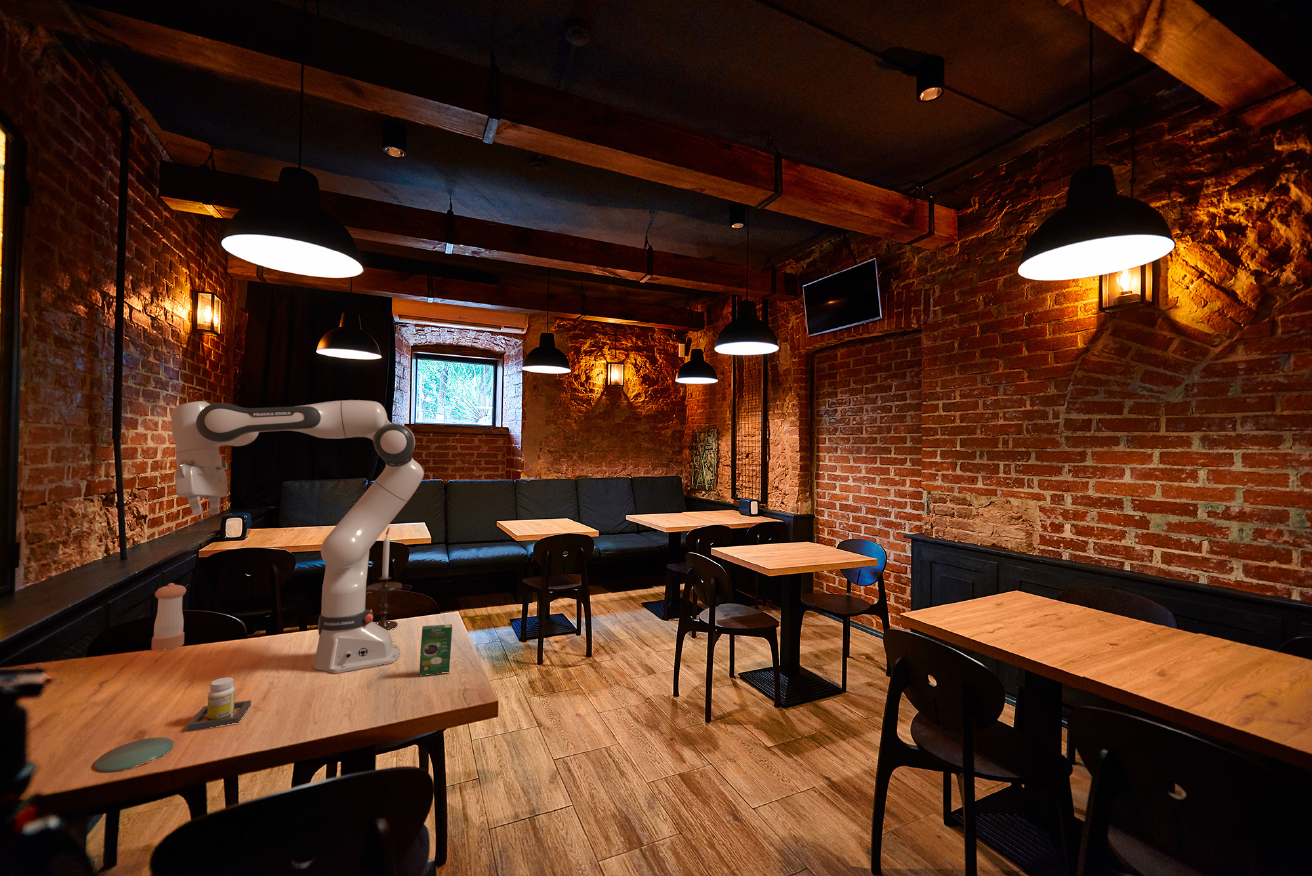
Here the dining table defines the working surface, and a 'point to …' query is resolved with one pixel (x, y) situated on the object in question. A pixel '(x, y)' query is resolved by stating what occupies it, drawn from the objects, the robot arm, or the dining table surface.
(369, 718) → the dining table surface
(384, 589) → the candlestick
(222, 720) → the square metal frame
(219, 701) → the supplement bottle
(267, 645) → the dining table surface
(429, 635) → the coffee box
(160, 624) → the pepper shaker
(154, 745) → the green coaster
